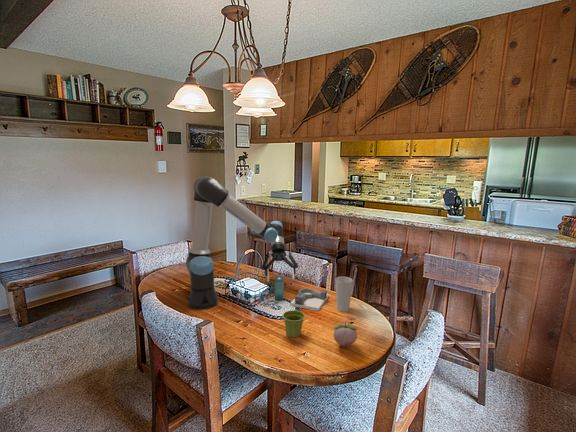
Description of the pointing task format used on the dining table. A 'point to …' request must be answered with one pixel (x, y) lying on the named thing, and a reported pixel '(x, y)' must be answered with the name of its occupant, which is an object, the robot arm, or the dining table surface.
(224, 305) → the dining table surface
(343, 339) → the decorative fruit
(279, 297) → the cylinder
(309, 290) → the shaft board
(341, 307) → the cup
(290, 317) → the plant pot
